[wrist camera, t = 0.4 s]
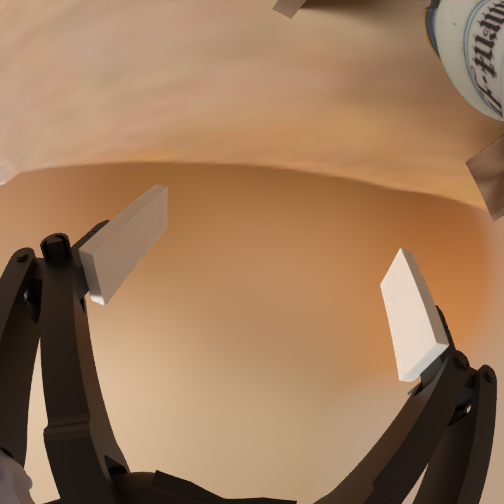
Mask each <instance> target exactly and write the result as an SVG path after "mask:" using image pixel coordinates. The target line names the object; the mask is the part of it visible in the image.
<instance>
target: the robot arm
mask: <svg viewBox="0 0 504 504" xmlns="http://www.w3.org/2000/svg"><path fill="white" fill-rule="evenodd" d="M167 203H168V186H163V185H158V184H156V185H154V186H153V187H152V188H151V189H149V190H148V191H147V192H145V193H144V194H143V195H141V196H140V197H139V198H137V199H136V200H135V201H134V202H133V203H131V204H130V205H129V206H127V207H126V208H125V209H124V210H123V211H121V212H120V213H119V214H118V215H117V216H115V217H114V218H113V219H112V220H111V221H109V220H105V221H103V222H101V223H99V224H97V225H96V226H95V227H94V228H92V229H91V231H89V232H88V233H87V234H86V235H85V236H83V237H82V238H81V239H80V240H79V241H78V242H76V243H75V244H74V245H73V246H72V247H70V243H69V239H68V236H67V235H66V234H63V233H55V234H52V235H49V236H48V237H46V238H45V239H44V240H43V241H42V242H41V244H40V247H41V250H42V253H43V257H44V258H36V256H35V253H34V250H33V249H31V248H22V249H19V250H18V251H16V252H15V253H14V254H13V256H12V257H11V259H10V260H9V262H8V264H7V266H6V268H5V270H4V272H3V274H2V276H1V278H0V504H35V503H34V502H33V500H32V498H31V496H30V492H29V489H31V487H32V481H31V479H30V477H29V476H28V475H27V474H26V472H25V470H24V465H25V458H26V449H27V424H28V409H29V398H30V390H31V382H32V375H33V369H34V363H35V358H36V353H37V348H38V343H39V339H40V343H41V344H40V348H41V367H42V379H43V390H44V398H45V405H46V412H47V417H48V426H47V427H46V428H45V429H44V433H43V435H44V443H45V448H46V452H47V456H48V460H49V463H50V467H51V471H52V474H53V477H54V480H55V483H56V487H57V489H58V492H59V495H60V499H57V500H54V501H51V502H48V503H44V504H296V503H297V501H292V500H280V499H271V498H264V497H262V498H245V499H225V498H222V497H219V496H217V495H215V494H213V493H211V492H209V491H207V490H205V489H203V488H201V487H199V486H198V485H195V484H194V483H192V482H190V481H187V480H184V479H181V478H178V477H174V476H172V475H169V474H165V473H163V472H160V471H158V470H156V472H155V473H152V472H133V473H131V472H130V470H129V467H128V465H127V462H126V460H125V458H124V455H123V454H122V452H121V450H120V448H119V446H118V444H117V443H116V440H115V437H114V434H113V431H112V428H111V425H110V422H109V418H108V415H107V412H106V408H105V404H104V401H103V397H102V393H101V389H100V385H99V380H98V376H97V372H96V367H95V361H94V356H93V351H92V345H91V339H90V333H89V325H88V317H87V308H86V300H85V297H84V296H85V295H86V293H87V292H88V291H89V293H90V296H91V299H92V300H93V301H95V302H97V303H100V304H102V305H104V306H105V305H106V304H107V303H108V301H109V300H110V298H111V297H112V296H113V295H114V293H115V292H116V291H117V289H118V288H119V287H120V285H121V284H122V283H123V282H124V280H125V279H126V278H127V277H128V275H129V274H130V273H131V272H132V270H133V269H134V268H135V266H136V265H137V264H138V263H139V262H140V260H141V259H142V258H143V257H144V256H145V254H146V253H147V252H148V251H149V249H150V248H151V247H152V246H153V245H154V244H155V243H156V241H157V240H158V239H159V238H160V237H161V235H162V234H163V233H164V232H165V231H166V230H167V205H168V204H167ZM380 286H381V290H382V294H383V298H384V303H385V307H386V311H387V316H388V320H389V324H390V329H391V334H392V340H393V345H394V351H395V356H396V362H397V369H398V375H399V381H407V382H412V381H414V380H415V379H416V378H417V377H418V376H419V375H420V376H421V382H420V383H419V384H418V385H417V386H415V387H414V388H413V389H412V390H411V391H410V392H408V395H409V394H410V393H412V394H411V396H410V397H409V399H408V400H407V402H406V403H405V405H404V406H403V408H402V409H401V411H400V412H399V414H398V415H397V416H396V418H395V420H394V421H393V422H392V423H391V425H390V426H389V427H388V429H387V430H386V431H385V433H384V434H383V435H382V437H381V438H380V439H379V440H378V442H377V443H376V444H375V445H374V447H373V448H372V449H371V450H370V452H369V453H368V454H367V455H366V456H365V457H364V459H363V460H362V461H361V462H360V463H359V464H358V465H357V466H356V467H355V469H354V470H353V471H352V472H351V473H350V474H349V475H348V476H347V477H346V478H345V479H344V480H343V481H342V482H341V483H340V484H339V485H338V486H337V487H336V488H335V489H334V490H333V491H332V492H330V493H329V494H328V495H326V496H324V497H323V498H321V499H319V500H318V501H316V502H315V503H314V504H402V502H403V501H404V499H405V498H406V496H407V495H408V494H409V492H410V491H411V489H412V488H413V486H414V485H415V483H416V482H417V480H418V479H419V477H420V476H421V474H422V472H423V471H424V469H425V468H426V466H427V464H428V463H429V464H428V467H427V469H426V472H425V475H424V477H423V480H422V483H421V485H420V488H419V490H418V493H417V495H416V497H415V499H414V501H413V504H479V502H480V498H481V495H482V491H483V488H484V484H485V479H486V476H487V471H488V467H489V462H490V456H491V450H492V444H493V436H494V428H495V416H496V400H497V378H496V375H495V372H494V370H493V369H492V368H491V367H490V366H488V365H483V366H482V367H481V368H480V369H479V370H475V369H473V368H471V367H470V365H469V361H468V359H467V357H466V356H465V355H464V354H463V353H462V352H460V351H458V350H456V349H455V346H454V343H453V340H452V337H451V334H450V331H449V329H448V326H447V323H446V321H445V318H444V315H443V313H442V311H441V310H440V309H439V307H438V306H437V305H435V304H434V301H433V299H432V296H431V294H430V292H429V289H428V287H427V285H426V282H425V280H424V277H423V275H422V273H421V271H420V269H419V266H418V264H417V263H416V260H415V258H414V256H413V254H412V252H411V251H408V250H406V249H403V248H400V250H399V252H398V254H397V255H396V257H395V259H394V261H393V263H392V265H391V267H390V268H389V270H388V272H387V274H386V276H385V277H384V279H383V281H382V283H381V284H380ZM470 406H471V408H470V411H469V412H468V413H467V408H468V407H470Z"/></svg>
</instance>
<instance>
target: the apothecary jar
mask: <svg viewBox="0 0 504 504" xmlns="http://www.w3.org/2000/svg"><path fill="white" fill-rule="evenodd" d="M423 25H424V31H425V34H426V37H427V40H428V42H429V44H430V46H431V48H432V50H433V51H434V53H435V54H436V56H437V57H438V58H439V60H440V61H441V62H442V63H443V66H444V68H445V70H446V73H447V75H448V77H449V78H450V80H451V82H452V83H453V85H454V86H455V88H456V89H457V91H458V92H459V93H460V94H461V96H462V97H463V98H464V99H465V100H466V101H467V102H468V103H469V104H470V105H471V106H473V107H474V108H475V109H477V110H478V111H479V112H481V113H483V114H484V115H486V116H488V117H490V118H493V119H495V120H499V121H503V122H504V0H432V1H431V5H430V6H429V7H427V8H425V9H424V13H423Z"/></svg>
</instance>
